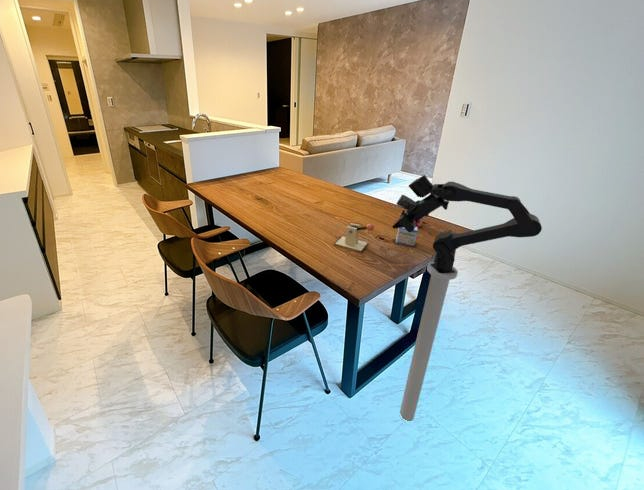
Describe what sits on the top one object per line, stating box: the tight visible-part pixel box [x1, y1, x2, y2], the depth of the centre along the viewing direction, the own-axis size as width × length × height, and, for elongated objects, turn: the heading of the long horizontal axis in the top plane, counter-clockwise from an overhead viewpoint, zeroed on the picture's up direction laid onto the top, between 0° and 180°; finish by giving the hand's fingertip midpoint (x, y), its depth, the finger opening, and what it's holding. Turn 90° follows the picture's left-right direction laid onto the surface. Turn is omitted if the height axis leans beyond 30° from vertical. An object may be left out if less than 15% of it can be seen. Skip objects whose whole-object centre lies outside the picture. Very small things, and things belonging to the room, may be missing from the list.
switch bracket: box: [335, 222, 368, 252], centre depth 134 cm, size 12×9×10 cm
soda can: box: [414, 217, 424, 228], centre depth 152 cm, size 7×7×12 cm
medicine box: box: [395, 227, 419, 247], centre depth 135 cm, size 8×4×9 cm, turn 68°
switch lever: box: [351, 223, 375, 232], centre depth 130 cm, size 11×3×3 cm, turn 57°
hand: (393, 227), depth 122 cm, fingers closed
